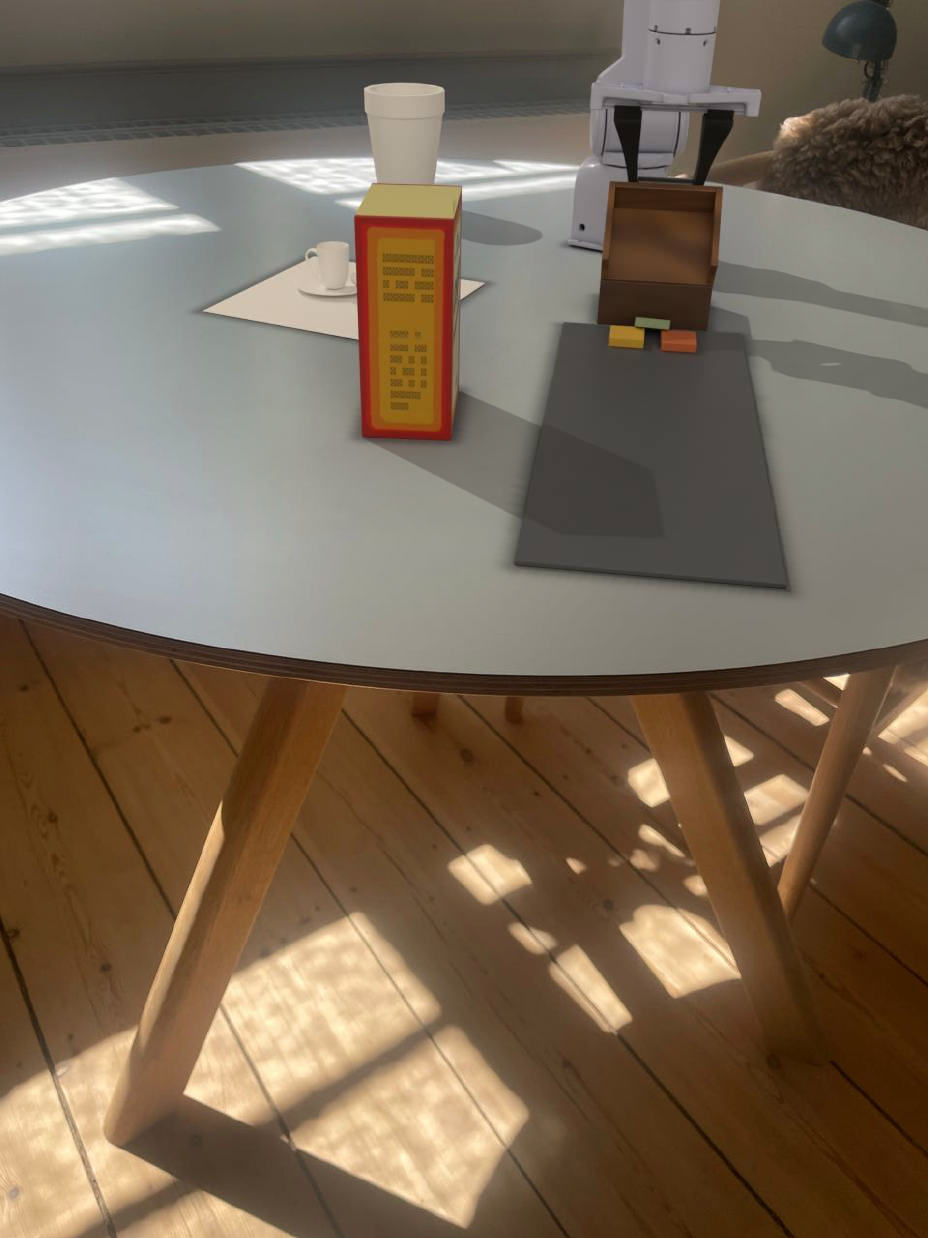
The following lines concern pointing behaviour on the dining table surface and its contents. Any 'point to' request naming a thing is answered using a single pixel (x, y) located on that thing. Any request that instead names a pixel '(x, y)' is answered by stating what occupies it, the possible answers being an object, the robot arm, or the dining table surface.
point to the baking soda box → (409, 309)
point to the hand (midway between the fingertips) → (663, 197)
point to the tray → (662, 232)
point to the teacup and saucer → (309, 295)
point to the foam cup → (405, 130)
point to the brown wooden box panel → (654, 303)
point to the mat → (651, 464)
